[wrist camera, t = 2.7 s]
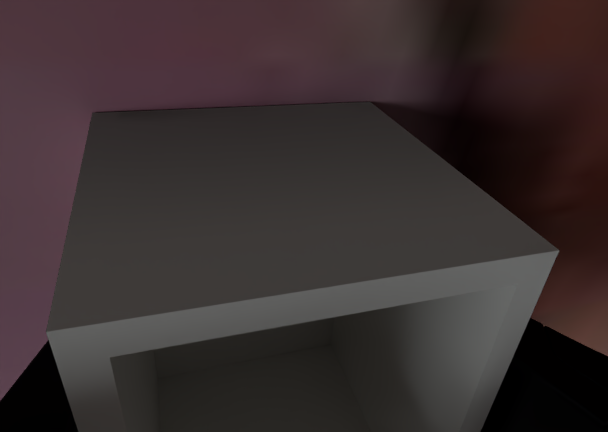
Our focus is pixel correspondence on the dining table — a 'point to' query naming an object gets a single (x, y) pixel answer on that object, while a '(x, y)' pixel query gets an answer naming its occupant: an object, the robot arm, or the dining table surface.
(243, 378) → the small crate
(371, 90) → the dining table surface
